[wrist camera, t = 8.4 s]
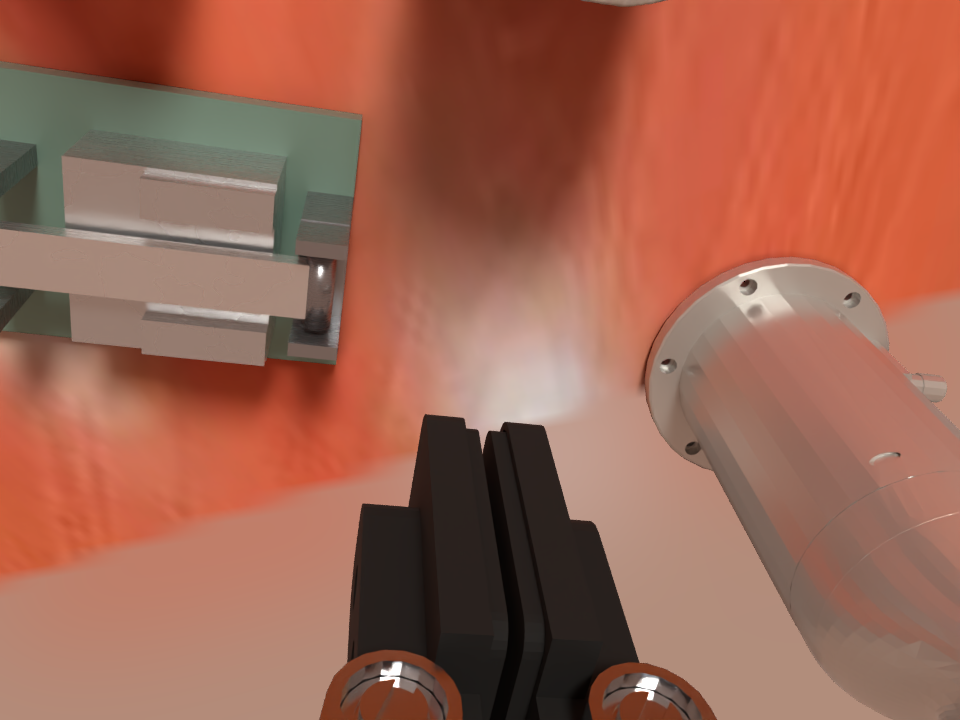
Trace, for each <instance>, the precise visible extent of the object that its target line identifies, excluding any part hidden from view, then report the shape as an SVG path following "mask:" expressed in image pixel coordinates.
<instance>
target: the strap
mask: <svg viewBox="0 0 960 720" xmlns="http://www.w3.org/2000/svg"><path fill="white" fill-rule="evenodd" d="M336 264H337V260H336V259H328V258H319V257H311V256H307V258H306V257H298V256H290V255H282V254H273V253H265V252H257V251H248V250H240V249H232V248H224V247H215V246H207V245H199V244H191V243H182V242H174V241H166V240H157V239H149V238H141V237H133V236H124V235H116V234H108V233H100V232H91V231H83V230H75V229H67V228H58V227H50V226H42V225H33V224H25V223H17V222H9V221H0V286H7V287H16V288H25V289H34V290H43V291H52V292H62V293H71V294H80V295H89V296H98V297H107V298H116V299H125V300H134V301H143V302H153V303H162V304H171V305H180V306H189V307H198V308H207V309H216V310H225V311H234V312H244V313H253V314H262V315H271V316H280V317H289V318H298V319H302V321H301V325H302V326H303V327H304V328H305V329H308V330H311V331H325V330H328V329H329V328H330V325H331V315H332V304H333V294H334V284H335V274H336Z"/></svg>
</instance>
